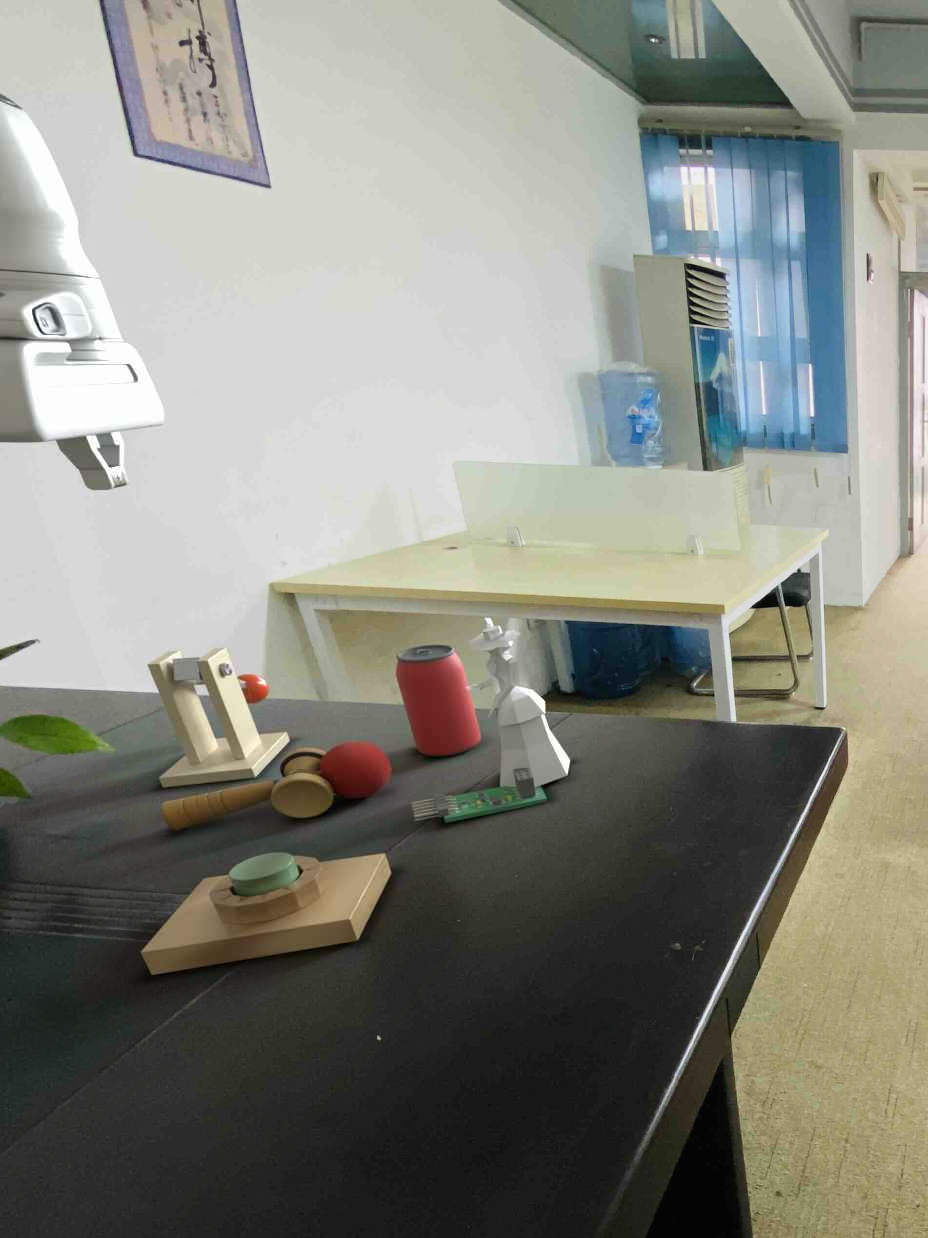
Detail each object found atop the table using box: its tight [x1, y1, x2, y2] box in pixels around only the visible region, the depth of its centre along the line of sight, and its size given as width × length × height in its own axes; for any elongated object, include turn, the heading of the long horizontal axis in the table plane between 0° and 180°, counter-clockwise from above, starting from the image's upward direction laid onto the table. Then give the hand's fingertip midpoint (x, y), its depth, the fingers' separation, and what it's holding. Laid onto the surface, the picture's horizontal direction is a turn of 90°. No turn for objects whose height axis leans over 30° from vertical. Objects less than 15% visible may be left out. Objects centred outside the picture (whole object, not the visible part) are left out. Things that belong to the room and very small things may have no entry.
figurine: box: [465, 617, 571, 787], centre depth 87 cm, size 7×8×18 cm
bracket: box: [146, 647, 290, 788], centre depth 88 cm, size 10×8×13 cm
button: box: [228, 852, 300, 897], centre depth 65 cm, size 4×4×2 cm
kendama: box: [160, 740, 393, 832], centre depth 82 cm, size 8×6×18 cm
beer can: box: [395, 644, 482, 757], centre depth 94 cm, size 7×7×12 cm
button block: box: [140, 853, 392, 976], centre depth 66 cm, size 13×10×4 cm
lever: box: [172, 656, 270, 705], centre depth 92 cm, size 14×4×4 cm, turn 19°
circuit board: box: [411, 768, 548, 824], centre depth 84 cm, size 12×3×5 cm
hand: (109, 487), depth 72 cm, fingers closed
